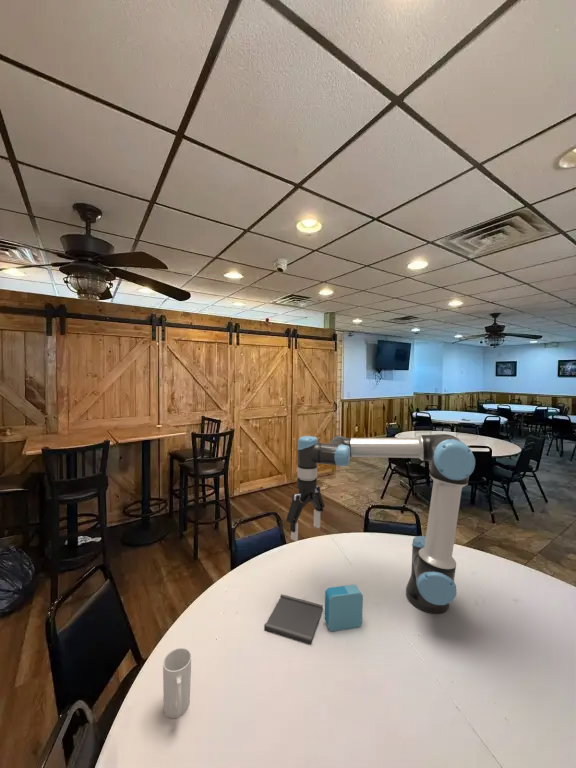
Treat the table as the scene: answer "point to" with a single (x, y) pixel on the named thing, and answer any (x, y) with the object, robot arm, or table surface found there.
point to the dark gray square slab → (294, 619)
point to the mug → (176, 682)
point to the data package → (343, 607)
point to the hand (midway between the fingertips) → (306, 533)
